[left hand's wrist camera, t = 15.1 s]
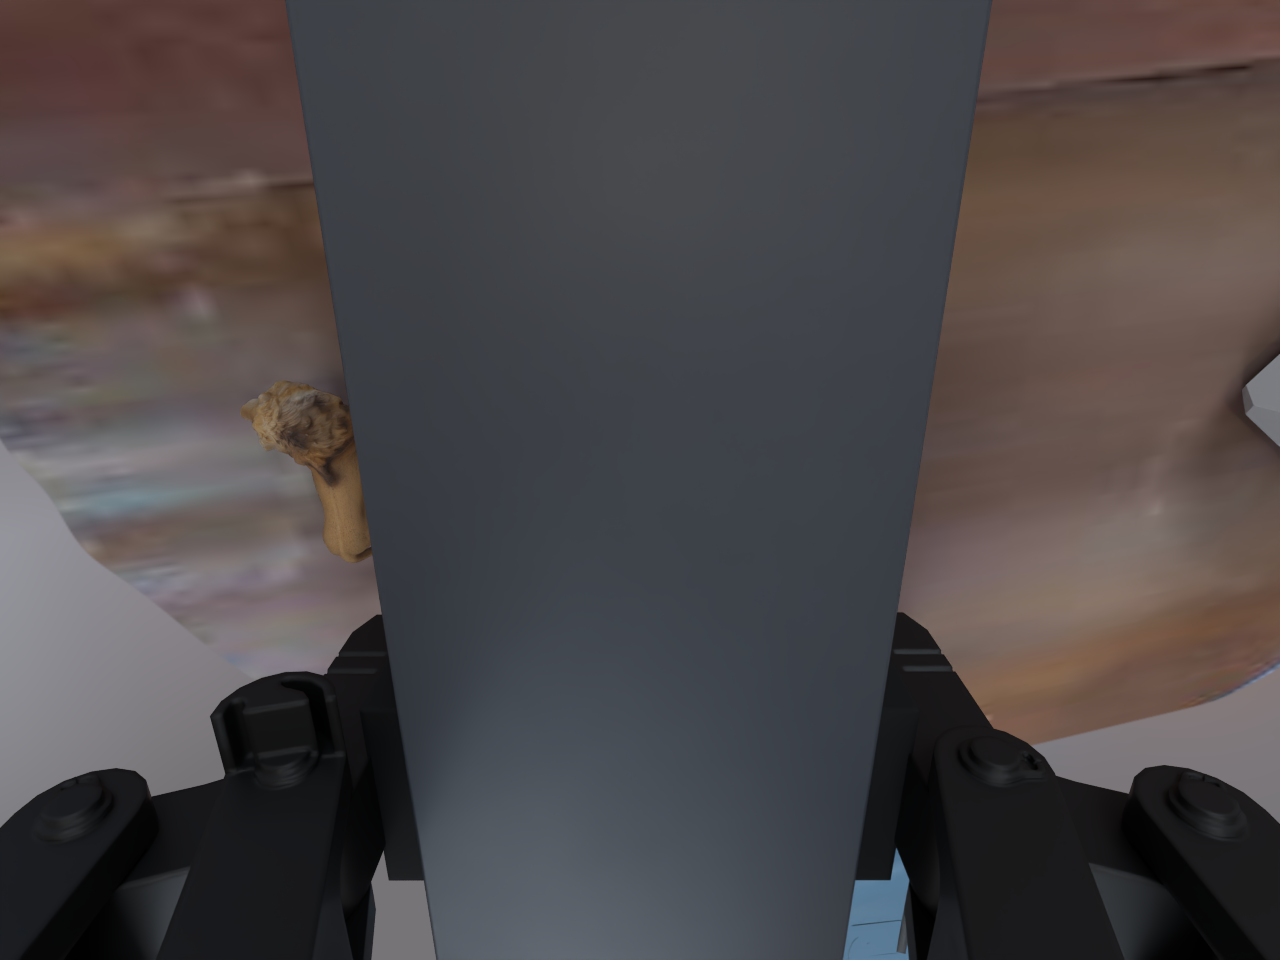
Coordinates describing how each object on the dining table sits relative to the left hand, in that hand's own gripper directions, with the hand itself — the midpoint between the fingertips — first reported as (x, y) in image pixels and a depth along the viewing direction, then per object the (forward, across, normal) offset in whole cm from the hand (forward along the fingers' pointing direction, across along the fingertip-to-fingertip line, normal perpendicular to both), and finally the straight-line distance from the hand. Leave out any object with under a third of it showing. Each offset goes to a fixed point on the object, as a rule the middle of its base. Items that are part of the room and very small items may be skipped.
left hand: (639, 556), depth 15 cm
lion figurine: (+34, +19, +9) cm, 40 cm away
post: (+1, 0, -30) cm, 30 cm away
